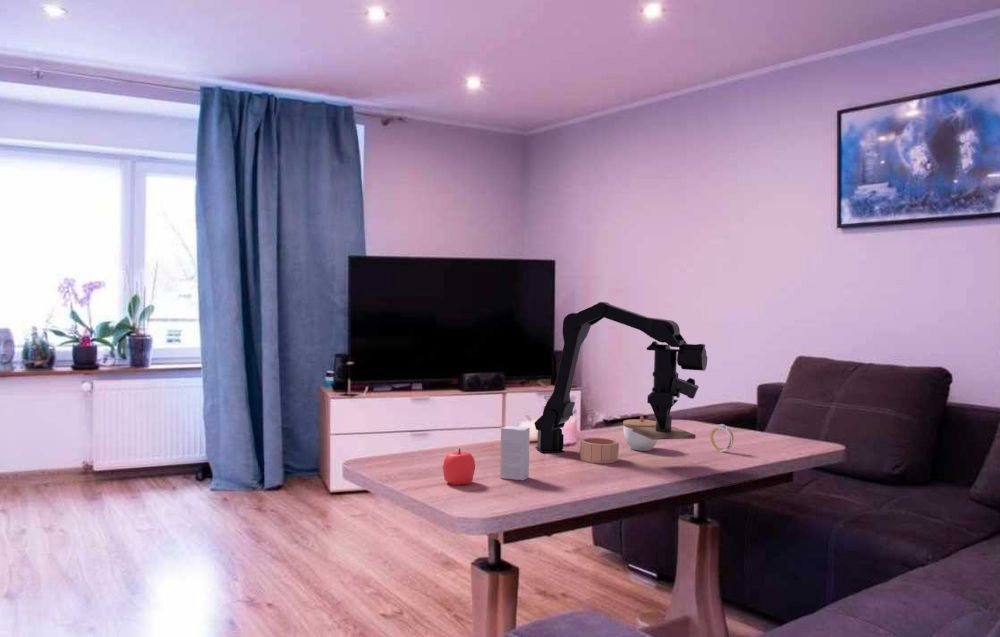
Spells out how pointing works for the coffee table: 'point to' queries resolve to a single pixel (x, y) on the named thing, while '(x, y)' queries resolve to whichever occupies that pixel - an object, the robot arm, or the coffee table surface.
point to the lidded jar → (636, 439)
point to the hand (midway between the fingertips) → (663, 427)
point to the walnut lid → (663, 431)
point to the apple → (459, 467)
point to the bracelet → (723, 427)
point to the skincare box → (514, 453)
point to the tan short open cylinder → (599, 450)
